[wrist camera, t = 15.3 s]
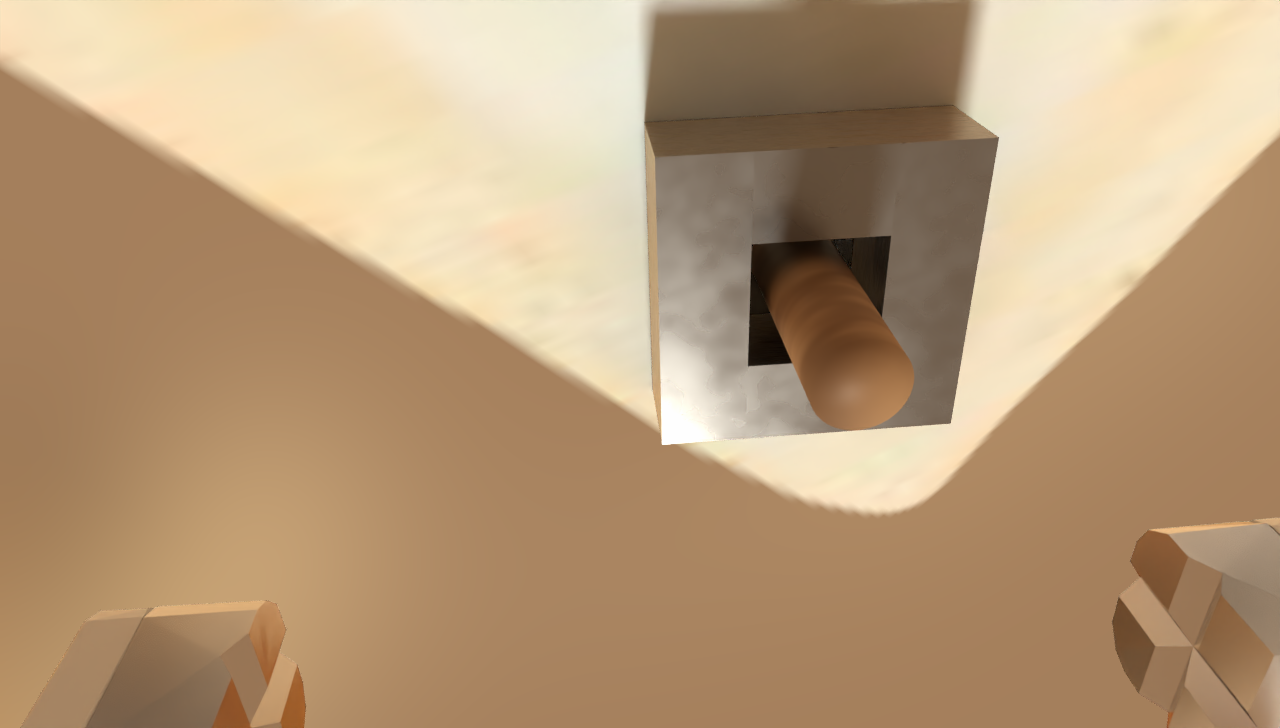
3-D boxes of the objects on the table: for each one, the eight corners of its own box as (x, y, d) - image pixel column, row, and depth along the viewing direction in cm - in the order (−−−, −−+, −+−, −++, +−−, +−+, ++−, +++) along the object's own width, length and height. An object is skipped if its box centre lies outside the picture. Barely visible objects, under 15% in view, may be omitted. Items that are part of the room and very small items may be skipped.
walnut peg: (834, 215, 44) (920, 336, 33) (828, 290, 46) (907, 426, 35) (751, 220, 43) (812, 343, 33) (749, 296, 46) (805, 433, 35)
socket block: (952, 105, 41) (998, 137, 37) (915, 370, 49) (950, 423, 44) (644, 122, 41) (655, 157, 36) (652, 389, 48) (662, 444, 44)
